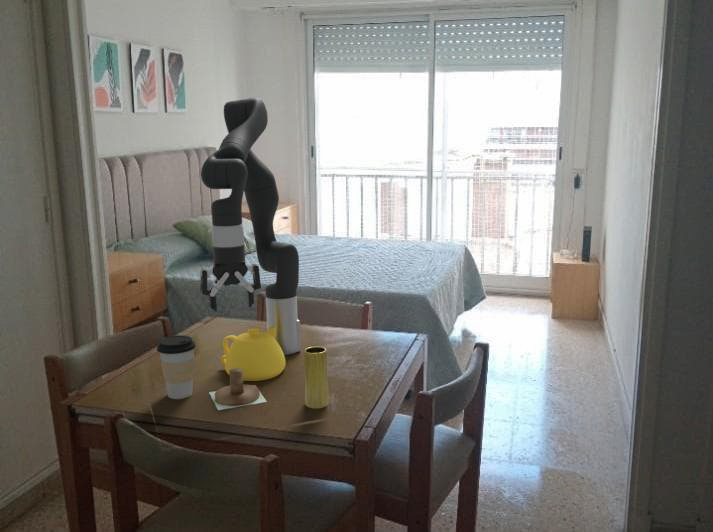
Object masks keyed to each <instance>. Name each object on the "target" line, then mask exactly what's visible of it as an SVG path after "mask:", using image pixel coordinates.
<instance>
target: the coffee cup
mask: <svg viewBox="0 0 713 532" xmlns="http://www.w3.org/2000/svg"><path fill="white" fill-rule="evenodd" d="M196 346H197V345H196V342H195V341H194V340H193V337H191V336H189V335H170V336H167V337H164V338H161V339H160V340H159V344H157V346H156V351H157V352H158V353H159V355H160V356H159V357H160V364H161V365H160V366H161V369H162V370H161V371H162V375H163V380H164V383H165V388H166V392H167V393H166V394H167V397H168V398H169V399H172V400H182V399H186V398H189V397H191V396H192V395H193V389H194V388H193V384H194V377H195V372H194V371H195V354H194V353H195V348H196Z"/></svg>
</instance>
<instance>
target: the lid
mask: <svg viewBox="0 0 713 532" xmlns="http://www.w3.org/2000/svg"><path fill="white" fill-rule="evenodd" d="M229 372H230V375H229V385H226V386H222V387H221V388H219V389H217V390H216V393H215V401H216V402H217V403H219V404H222V405H227V406H239V405H245V404H249V403H252V402H254V401H256V400H257V399H258V398H259V396H260V394H259V391H260V388H259V387H257V386H256V385H255V386H256V387H255V386H252V384H245V383H244V381H243V371H242V369H240V368H235V369H231V370H230V371H229Z"/></svg>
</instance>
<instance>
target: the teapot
mask: <svg viewBox="0 0 713 532" xmlns="http://www.w3.org/2000/svg"><path fill="white" fill-rule="evenodd" d="M228 340H232V343H231V344H230V347H229V346H228V345H229V344H228ZM222 349H223V352H224V354H223V355H222V356H221V359H220V360H221V361H220V362H221V363H222V364H223V365H224V369H225V372H226V373H227V375H228V376H230V372H229V371H230V370H231V369H235V368H240V369H242V371H243V382H258V381H266V380H270V379H273V378H276V377H278V376H279V375H280V374H281V373H283V370H284V369H285V367H286V357H285V356H286V355H284V353H283V351H282V349H281V347H280V345H279V344H278V342H277V341H276V327H270V328H268V331H267V330H266V331H261V329H260V328H256V327H252V328H249V329H247V332H244V333H240V334H238V335H237V336H236V335H233V334H231V335H227V336H226V337H224V338H223V340H222Z"/></svg>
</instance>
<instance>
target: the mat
mask: <svg viewBox="0 0 713 532" xmlns="http://www.w3.org/2000/svg"><path fill="white" fill-rule="evenodd" d="M251 385H252V384H251ZM252 386H255V387H257V386H256V384H253V385H252ZM216 391H217V390H216ZM216 391H209V392H208V394H209V395H210V397H211V399H212V401H213V403H214V405H215V407H216V409H217V411H222V410H228V409H234V408H238V407H239V408H240V407H244V406H250V405H257V404H262V403H268V401H267V400H266V398H265V397H264V396H263V394H262V392H261V391H260V390H259V394H260V396H259V398H258V399H257V400H256V401H254V402H252V403H249V404H245V405H239V406H227V405H222V404H219V403H217V402H216V401H215V393H216Z"/></svg>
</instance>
